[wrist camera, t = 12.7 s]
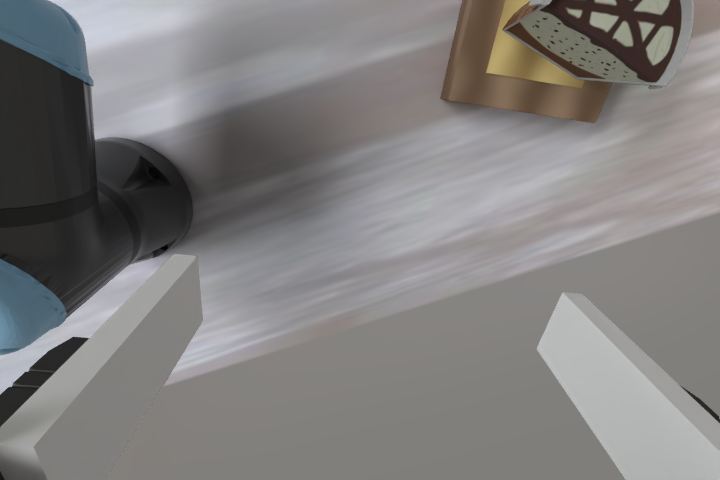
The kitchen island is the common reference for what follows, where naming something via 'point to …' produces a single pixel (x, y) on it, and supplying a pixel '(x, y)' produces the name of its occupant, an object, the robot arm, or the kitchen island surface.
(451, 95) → the plate
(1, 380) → the kitchen island surface
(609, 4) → the food container
